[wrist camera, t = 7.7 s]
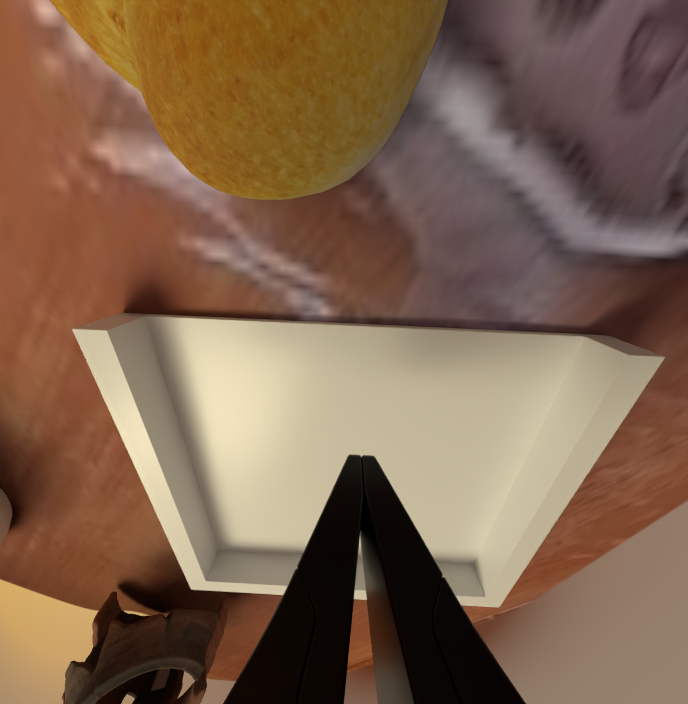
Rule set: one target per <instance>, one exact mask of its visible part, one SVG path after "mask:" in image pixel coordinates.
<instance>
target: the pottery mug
mask: <svg viewBox="0 0 688 704" xmlns="http://www.w3.org/2000/svg"><path fill="white" fill-rule="evenodd" d="M226 617H227V603H226V599H225V598H224V599H223V600H222V601H221V602H220V604H219V607H218V610H197V609H196V610H195V609H183V608H177V609H174V610H172V611H171V612H170V613H169V614H168V616H167V617H165V616H164V615H163V614H157V615H153V616H139V615H136V614H128V613H125V612H124V611H122V610H121V608H120V606H119V603H118V600H117V592H112V593H111V594H110V596H109V598H108V599H107V600H106V602H105V603H104V605H103V606H102V608H101V609H100V610H99V612H98V613H97V615H96V616H95V618H94V621H93V625H92V627H93V649H92V652H91V653H90V655H89V656H88V657H87V659H86V660H85V662H76V661H71V663H70V665H69V667H68V668H67V671H66V674H65V677H66V681H65V691H64V693H63V696H62V699H63V704H121V703H122V700H123V699H124V697H125V695H127V694H128V695H131V696H133V697H134V698H135V700H134V701H133V703H132V704H200V703H201V700H202V698H203V696H204V694H205V691H206V687H207V682H206V676H207V674H208V672H209V671H210V668H211V666H212V664H213V661H214V658H215V653H216V651H217V648H218V646H219V644H220V641H221V639H222V637H223V634H224V628H225V626H226ZM184 671H185V672H187V673H189V674H190V675H191V676H192V677H193V679H194V680H195V682H194V683H193V684H192V685H191V687H190V688H189V689H188V690H187V691H186V692H185V693H184V694H183V695H182V696H181V697H180V698H178V696H179V694H180V691H181V689H182V680H183V675H184ZM177 698H178V699H177Z"/></svg>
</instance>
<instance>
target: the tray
mask: <svg viewBox="0 0 688 704" xmlns="http://www.w3.org/2000/svg"><path fill="white" fill-rule="evenodd" d="M72 330H73V332H74V334H75V337H76V339H77V341H78V343H79V345H80V348H81V350H82V352H83V354H84V356H85V358H86V361H87V363H88V365H89V367H90V369H91V372H92V374H93V376H94V378H95V380H96V383H97V385H98V387H99V389H100V391H101V393H102V396H103V398H104V400H105V402H106V404H107V407H108V409H109V411H110V413H111V415H112V418H113V420H114V422H115V424H116V426H117V428H118V431H119V433H120V435H121V437H122V439H123V442H124V444H125V446H126V448H127V450H128V453H129V455H130V457H131V459H132V461H133V463H134V466H135V468H136V470H137V472H138V474H139V477H140V479H141V481H142V483H143V485H144V488H145V490H146V492H147V494H148V496H149V498H150V501H151V503H152V505H153V507H154V509H155V512H156V514H157V516H158V518H159V520H160V523H161V525H162V527H163V529H164V531H165V534H166V536H167V538H168V540H169V542H170V544H171V547H172V549H173V551H174V553H175V555H176V558H177V560H178V562H179V564H180V566H181V569H182V571H183V573H184V575H185V577H186V579H187V582H188V584H189V586H190V588H191V590H207V591H224V592H242V593H259V594H276V595H283V594H284V592H285V590H286V588H287V586H288V584H289V582H290V580H291V578H292V575H293V573H294V571H295V569H297V565H298V563H299V561H300V558H301V556H302V554H303V552H304V550H305V548H306V545H307V543H308V541H309V539H310V537H311V535H312V532H313V530H314V528H315V526H316V524H317V522H318V519H319V517H320V515H321V513H322V511H323V509H324V506H325V504H326V502H327V500H328V498H329V495H330V493H331V491H332V489H333V487H334V485H335V482H336V480H337V478H338V476H339V474H340V472H341V469H342V467H343V465H344V463H345V461H346V459H347V456H348V455H349V454H355V455H360V456H361V457H362V456H363V455H373V456H375V458H376V459H377V461H378V463H379V464H380V466H381V468H382V469H383V471H384V473H385V475H386V476H387V478H388V480H389V482H390V483H391V485H392V487H393V489H394V490H395V492H396V494H397V495H398V497H399V499H400V501H401V502H402V504H403V506H404V508H405V509H406V511H407V513H408V514H409V516H410V518H411V520H412V521H413V523H414V525H415V527H416V528H417V530H418V532H419V534H420V535H421V537H422V539H423V540H424V542H425V544H426V546H427V547H428V549H429V551H430V553H431V554H432V556H433V558H434V559H435V561H436V563H437V565H438V566H439V568H440V570H441V572H442V574H443V576H442V577H445V578H446V580H447V582H448V583H449V585H450V587H451V589H452V590H453V592H454V594H455V596H456V597H457V599H458V601H459V602H460V604H461V605H467V606H484V607H500V605H501V604H502V602H503V601H504V599H505V598H506V596H507V595H508V593H509V592H510V590H511V589H512V587H513V586H514V584H515V583H516V581H517V580H518V578H519V577H520V575H521V574H522V572H523V571H524V569H525V568H526V566H527V565H528V563H529V562H530V560H531V559H532V557H533V555H534V554H535V552H536V551H537V549H538V548H539V546H540V545H541V543H542V542H543V540H544V539H545V537H546V536H547V534H548V533H549V531H550V530H551V528H552V527H553V525H554V524H555V522H556V521H557V519H558V518H559V516H560V515H561V513H562V512H563V510H564V509H565V507H566V506H567V504H568V503H569V501H570V500H571V498H572V497H573V495H574V494H575V492H576V491H577V489H578V488H579V486H580V485H581V483H582V482H583V480H584V479H585V477H586V476H587V474H588V473H589V471H590V470H591V468H592V467H593V465H594V464H595V462H596V461H597V459H598V458H599V456H600V455H601V453H602V452H603V450H604V448H605V447H606V445H607V444H608V442H609V441H610V439H611V438H612V436H613V435H614V433H615V432H616V430H617V429H618V427H619V426H620V424H621V423H622V421H623V420H624V418H625V417H626V415H627V414H628V412H629V411H630V409H631V408H632V406H633V405H634V403H635V402H636V400H637V399H638V397H639V396H640V394H641V393H642V391H643V390H644V388H645V387H646V385H647V384H648V382H649V381H650V379H651V378H652V376H653V375H654V373H655V372H656V370H657V369H658V367H659V366H660V364H661V363H662V361H663V360H664V358H665V357H664V356H661V355H659V354H656V353H653V352H651V351H648V350H646V349H643V348H640V347H638V346H635V345H632V344H630V343H627V342H624V341H622V340H619V339H617V338H614V337H611V336H609V335H591V334H569V333H548V332H526V331H504V330H483V329H461V328H440V327H418V326H397V325H375V324H354V323H332V322H311V321H289V320H268V319H246V318H225V317H203V316H181V315H160V314H138V313H120V314H117V315H113V316H110V317H107V318H104V319H101V320H98V321H95V322H92V323H89V324H86V325H83V326H80V327H76V328H73V329H72ZM354 599H363V600H367V597H366V587H365V578H364V569H363V559H362V550H361V540H359V550H358V560H357V571H356V581H355V591H354Z"/></svg>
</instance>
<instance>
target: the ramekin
mask: <svg viewBox="0 0 688 704" xmlns="http://www.w3.org/2000/svg"><path fill="white" fill-rule="evenodd" d="M11 519H12V507H11V504H10V501H9V499H8V498H7V496H6V494H5V493H4V492H3V490H2V489H1V488H0V545H1V543H2V542H3V540H4V539H5V538H6V536H7V534H8V530H9V527H10V522H11Z"/></svg>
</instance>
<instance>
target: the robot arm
mask: <svg viewBox="0 0 688 704" xmlns="http://www.w3.org/2000/svg"><path fill="white" fill-rule="evenodd" d="M359 540H361V550H362V559H363V569H364V578H365V587H366V597H367V606H368V615H369V625H370V634H371V643H372V653H373V662H374V671H375V679H376V690H377V699H378V704H526V703H525V702H524V700H523V699H522V697H521V696H520V694H519V693H518V692H517V690H516V688H515V687H514V686H513V684H512V683H511V681H510V680H509V678H508V677H507V675H506V674H505V672H504V671H503V669H502V668H501V667H500V665H499V664H498V662H497V661H496V659H495V657H494V656H493V654H492V653H491V651H490V650H489V649H488V647H487V645H486V644H485V642H484V641H483V639H482V638H481V636H480V635H479V633H478V632H477V630H476V629H475V627H474V625H473V624H472V622H471V620H470V619H469V617H468V615H467V614H466V612H465V610H464V609H463V607H462V606H461V604H460V602H459V601H458V599H457V597H456V596H455V594H454V592H453V590H452V589H451V587H450V585H449V583H448V582H447V580H446V578H445V577H442V576H443V574H442V572H441V570H440V568H439V566H438V565H437V563H436V561H435V559H434V558H433V556H432V554H431V553H430V551H429V549H428V547H427V546H426V544H425V542H424V540H423V539H422V537H421V535H420V534H419V532H418V530H417V528H416V527H415V525H414V523H413V521H412V520H411V518H410V516H409V514H408V513H407V511H406V509H405V508H404V506H403V504H402V502H401V501H400V499H399V497H398V495H397V494H396V492H395V490H394V489H393V487H392V485H391V483H390V482H389V480H388V478H387V476H386V475H385V473H384V471H383V469H382V468H381V466H380V464H379V463H378V461H377V459H376V458H375V456H373V455H363V456H362V457H361V456H360V455H355V454H349V455H348V456H347V459H346V461H345V463H344V465H343V467H342V469H341V472H340V474H339V476H338V478H337V480H336V482H335V485H334V487H333V489H332V491H331V493H330V495H329V498H328V500H327V502H326V504H325V506H324V509H323V511H322V513H321V515H320V517H319V519H318V522H317V524H316V526H315V528H314V530H313V532H312V535H311V537H310V539H309V541H308V543H307V545H306V548H305V550H304V552H303V554H302V556H301V558H300V561H299V563H298V565H297V569H295V571H294V573H293V575H292V578H291V580H290V582H289V584H288V586H287V588H286V590H285V592H284V594H283V596H282V599H281V601H280V603H279V605H278V607H277V609H276V611H275V613H274V615H273V617H272V619H271V620H270V622H269V624H268V626H267V628H266V629H265V631H264V633H263V635H262V637H261V639H260V640H259V642H258V644H257V646H256V648H255V650H254V651H253V653H252V655H251V656H250V658H249V660H248V662H247V663H246V665H245V667H244V669H243V670H242V672H241V674H240V675H239V677H238V679H237V681H236V682H235V684H234V686H233V688H232V689H231V691H230V693H229V694H228V696H227V698H226V700H225V701H224V703H223V704H344V695H345V685H346V675H347V664H348V654H349V643H350V633H351V623H352V612H353V602H354V591H355V581H356V571H357V560H358V550H359Z"/></svg>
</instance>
